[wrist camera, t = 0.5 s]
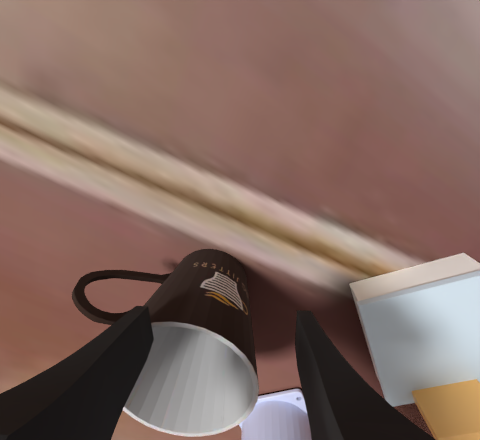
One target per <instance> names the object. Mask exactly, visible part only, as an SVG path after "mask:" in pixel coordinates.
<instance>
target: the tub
mask: <svg viewBox="0 0 480 440" xmlns="http://www.w3.org/2000/svg"><path fill="white" fill-rule="evenodd" d="M479 270H480V263H478V262H477V261H475V260H474V259H472V258H471V257H469V256H468V255H466V254H465V253H461V254H457V255H453V256H450V257H446V258H442V259H439V260H435V261H431V262H427V263H424V264H420V265H416V266H412V267H409V268H405V269H401V270H398V271H394V272H390V273H386V274H383V275H379V276H375V277H371V278H368V279H364V280H360V281H357V282H353V283H349V285H350V288H351V292H352V295H353V299H354V302H355V305H356V309H357V312H358V315H359V319H360V322H361V325H362V329H363V332H364V336H365V339H366V342H367V346H368V349H369V352H370V356H371V359H372V363H373V366H374V369H375V373H376V375H377V378H378V374H377V371H376V368H375V364H374V361H373V357H372V354H371V351H370V347H369V344H368V340H367V337H366V334H365V330H364V327H363V323H362V320H361V317H360V313H359V310H358V306H357V303H356V302H357V301H361V300H365V299H369V298H373V297H377V296H381V295H384V294H388V293H392V292H396V291H400V290H404V289H408V288H412V287H416V286H420V285H424V284H428V283H432V282H436V281H440V280H443V279H447V278H451V277H455V276H459V275H463V274H467V273H471V272H475V271H479ZM378 380H379V378H378ZM379 382H380V381H379Z"/></svg>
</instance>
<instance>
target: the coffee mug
mask: <svg viewBox="0 0 480 440" xmlns="http://www.w3.org/2000/svg"><path fill="white" fill-rule="evenodd" d="M109 278H121V279H131V280H140V281H148V282H157V283H161V284H162V285H161V286H160V287H159V288H158V290H157V291H156V292H155V293H154V294H153V295H152V297H151V298H150V299H149V300H148V301H147V303H146V304H145V305H144V306H148V308H149V314H150V320H151V325H152V331H153V337H154V341H153V344H152V347H151V350H150V353H149V355H148V358H147V361H146V363H145V365H144V367H143V369H142V371H141V373H140V375H139V377H138V379H137V381H136V383H135V386H134V388H133V390H132V392H131V394H130V396H129V398H128V400H127V402H126V404H125V406H124V408H123V411H124V412H126V413H127V414H128V415H130V416H131V417H132V418H134V419H135V420H137V421H139V422H140V423H142V424H144V425H146V426H148V427H151V428H153V429H156V430H158V431H161V432H165V433H169V434H173V435H180V436H208V435H214V434H218V433H221V432H225V431H227V430H229V429H231V428H233V427H235V426H237V425H238V424H240V423H241V422H242V421H244V420H245V419H246V418H247V417H248V416H249V414H250V413H251V412H252V411H253V409H254V407H255V404H256V402H257V400H258V393H259V385H258V376H257V367H256V358H255V349H254V340H253V331H252V322H251V313H250V304H249V295H248V286H247V278H246V274H245V271H244V269H243V267H242V266H241V264H240V263H239V262H238V261H237V260H236V259H235V258H233V257H232V256H231V255H229V254H227V253H225V252H223V251H219V250H214V249H202V250H198V251H195V252H193V253H191V254H189V255H188V256H186V257H185V258H184V259H183V260H182V261H181V262H180V264H179V265H178V266H177V267H176V268H175V269H174V271H173V272H172V273H170V274H165V275H158V274H150V273H143V272H135V271H127V270H104V271H96V272H91V273H89V274H86V275H84V276H83V277H81V278H80V279H79V281H78V283H77V285H76V286H75V288H74V290H73V293H72V299H73V301H74V304H75V306H76V307H77V308H78V310H79V311H80V312H81V313H82V314H84V315H85V316H86V317H87V318H89V319H90V320H92V321H94V322H98V323H103V324H108V325H113V324H114V323H115V322H116V321H118V320H119V319H120V318H121V317H123V316H124V315H125V314H126V313H128V312H129V311H127V312H124V313H108V312H104V311H101V310H99V309H97V308H95V307H94V306H93V305H91V304H90V303H89V301H88V300H87V298H86V296H85V293H84V289H85V286H86V285H88V284H89V283H91V282H93V281H97V280H102V279H109Z"/></svg>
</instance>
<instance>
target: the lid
mask: <svg viewBox="0 0 480 440" xmlns="http://www.w3.org/2000/svg"><path fill="white" fill-rule="evenodd" d="M356 303H357V306H358V310H359V313H360V317H361V320H362V323H363V327H364V330H365V334H366V337H367V340H368V344H369V347H370V351H371V354H372V357H373V361H374V364H375V368H376V371H377V374H378V378H379V381H380V385H381V388H382V391H383V395H384V398H385V400H386V401H387V402H388V403H389V404H390V405H391V406H392V407H394V406H400V405H405V404H411V403H415V404H416V405H417V407H418V409H419V411H420V413H421V415H422V417H423V418H424V420H425V422H426V424H427V426H428V428H429V430H430V431H431V433H432V435H433V437H434V439H436V440H480V270H479V271H475V272H471V273H467V274H463V275H459V276H455V277H451V278H447V279H443V280H440V281H436V282H432V283H428V284H424V285H420V286H416V287H412V288H408V289H404V290H400V291H396V292H392V293H388V294H384V295H381V296H377V297H373V298H369V299H365V300H361V301H357V302H356Z"/></svg>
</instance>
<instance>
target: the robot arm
mask: <svg viewBox="0 0 480 440" xmlns="http://www.w3.org/2000/svg"><path fill="white" fill-rule="evenodd" d="M153 341H154V337H153V331H152V325H151V320H150V314H149V308H148V306H136V307H134V308H133V309H132V310H130V311H129V312H128V313H126V314H125V315H124V316H123V317H121V318H120V319H119V320H118V321H116V322H115V323H114V324H113V325H111V326H110V327H109V328H108V329H106V330H105V331H104V332H102V333H101V334H100V335H99V336H97V337H96V338H94V339H93V340H92V341H90V342H89V343H87V344H86V345H85V346H83V347H82V348H81V349H79V350H78V351H76V352H75V353H73V354H72V355H70V356H69V357H67V358H66V359H64V360H62V361H61V362H59V363H58V364H56V365H54V366H53V367H51V368H49V369H47V370H46V371H44V372H42V373H40V374H38V375H36V376H35V377H33V378H31V379H29V380H27V381H26V382H24V383H22V384H20V385H18V386H16V387H14V388H12V389H10V390H8V391H5V392H3V393H1V394H0V440H111V437H112V435H113V432H114V430H115V427H116V424H117V422H118V419H119V417H120V415H121V412H122V410H123V408H124V406H125V404H126V402H127V400H128V398H129V396H130V394H131V392H132V390H133V388H134V386H135V383H136V381H137V379H138V377H139V375H140V373H141V371H142V369H143V367H144V365H145V363H146V361H147V358H148V355H149V353H150V350H151V347H152V344H153ZM295 349H296V358H297V367H298V372H299V377H300V382H301V386H302V391H303V393H302V391H301V390H300V389H292V390H287V391H282V392H277V393H272V394H267V395H262V396H258V400H257V402H256V404H255V407H254V409H253V411H252V412H251V413H250V414H249V416H248V417H247V418H246V419H245V420H244V421H242V422H241V423H240V424H239V426H240V428H241V429H242V438H241V440H436V439H434V438H433V437H431V436H430V435H429V434H427V433H426V432H424V431H423V430H422V429H420V428H419V427H417V426H416V425H415V424H413V423H412V422H411V421H410V420H408V419H407V418H406V417H405V416H403V415H402V414H401V413H400V412H398V411H397V410H396V409H395V408H394V407H392V406H391V405H390V404H389V403H388V402H387V401H386V400H385V399H383V398H382V397H381V396H380V395H379V394H378V393H377V392H376V391H375V390H374V389H373V388H371V387H370V386H369V385H368V384H367V383H366V382H365V381H364V380H363V378H362V377H361V376H360V375H359V374H358V373H357V372H356V371H355V370H354V369H353V368H352V367H351V365H350V364H349V363H348V362H347V361H346V360H345V358H344V357H343V356H342V355H341V354H340V352H339V351H338V350H337V349H336V347H335V346H334V345H333V343H332V342H331V340H330V339H329V338H328V336H327V335H326V334H325V332H324V331H323V329H322V328H321V326H320V325H319V323H318V321H317V320H316V318H315V317H314V315H313V313H312V312H311V311H297V320H296V337H295Z"/></svg>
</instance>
